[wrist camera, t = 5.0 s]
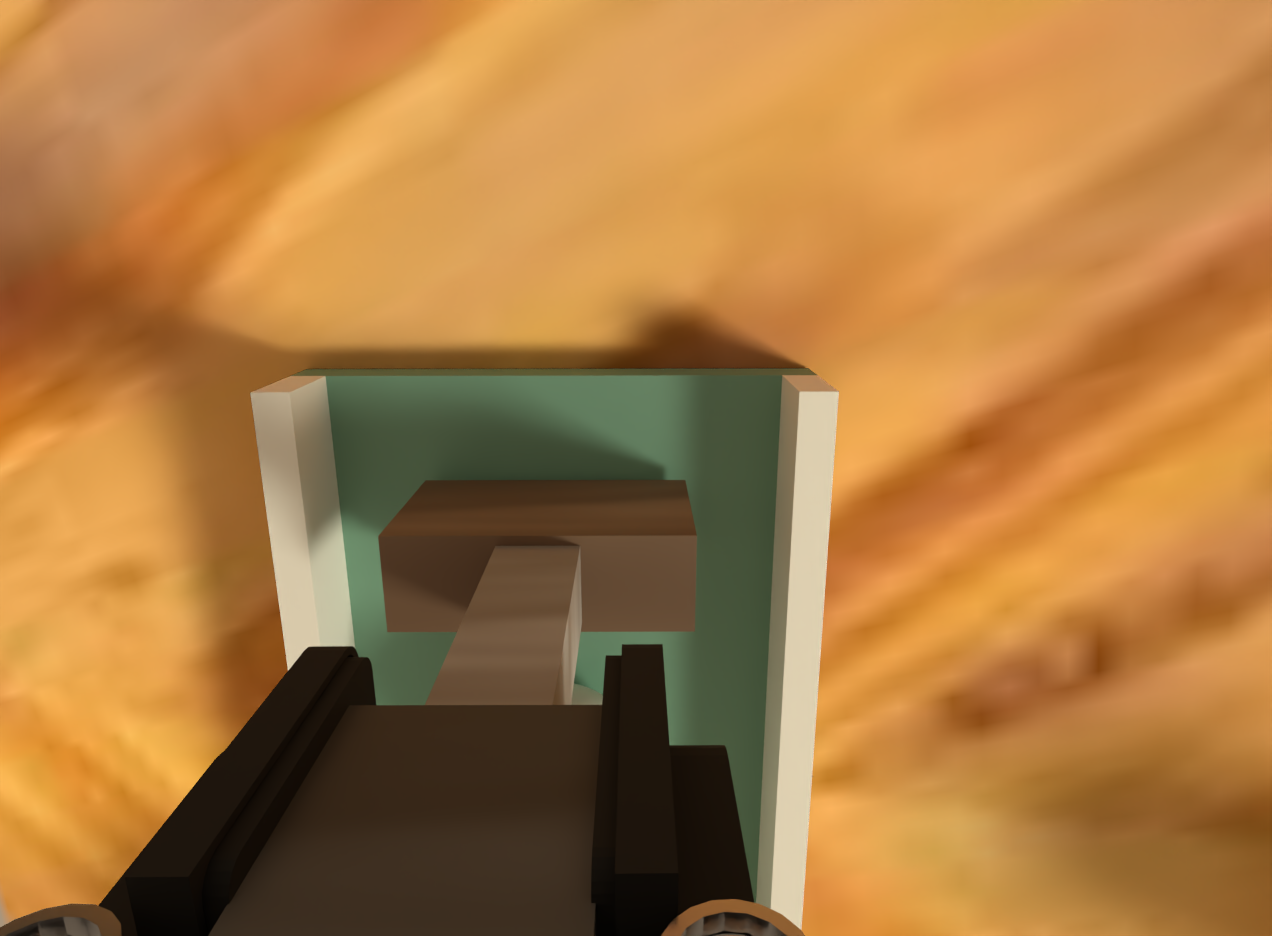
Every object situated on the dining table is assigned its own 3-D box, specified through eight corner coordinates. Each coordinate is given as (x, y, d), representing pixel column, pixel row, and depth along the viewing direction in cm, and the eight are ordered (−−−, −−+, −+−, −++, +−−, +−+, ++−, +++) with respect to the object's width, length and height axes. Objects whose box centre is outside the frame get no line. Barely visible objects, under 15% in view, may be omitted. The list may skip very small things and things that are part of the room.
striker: (425, 471, 19) (-71, 1034, 6) (685, 471, 19) (807, 1031, 6) (432, 568, 19) (5, 1275, 6) (683, 568, 19) (788, 1271, 6)
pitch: (307, 369, 19) (91, 457, 12) (808, 368, 19) (923, 456, 12) (387, 1063, 25) (279, 1422, 18) (767, 1061, 25) (825, 1419, 18)
